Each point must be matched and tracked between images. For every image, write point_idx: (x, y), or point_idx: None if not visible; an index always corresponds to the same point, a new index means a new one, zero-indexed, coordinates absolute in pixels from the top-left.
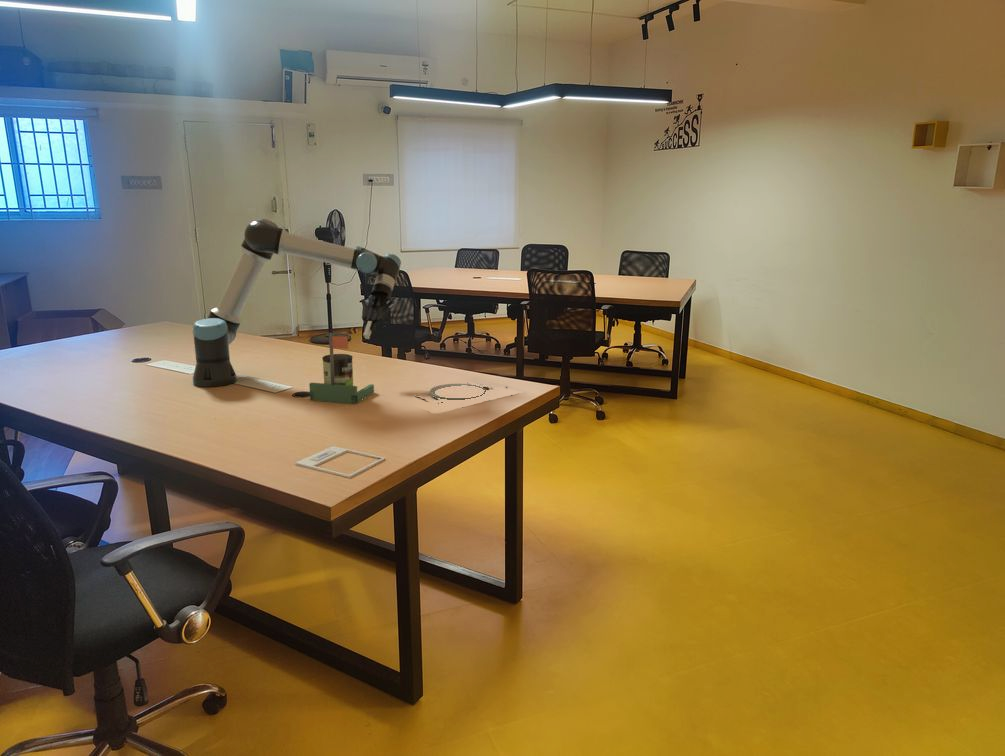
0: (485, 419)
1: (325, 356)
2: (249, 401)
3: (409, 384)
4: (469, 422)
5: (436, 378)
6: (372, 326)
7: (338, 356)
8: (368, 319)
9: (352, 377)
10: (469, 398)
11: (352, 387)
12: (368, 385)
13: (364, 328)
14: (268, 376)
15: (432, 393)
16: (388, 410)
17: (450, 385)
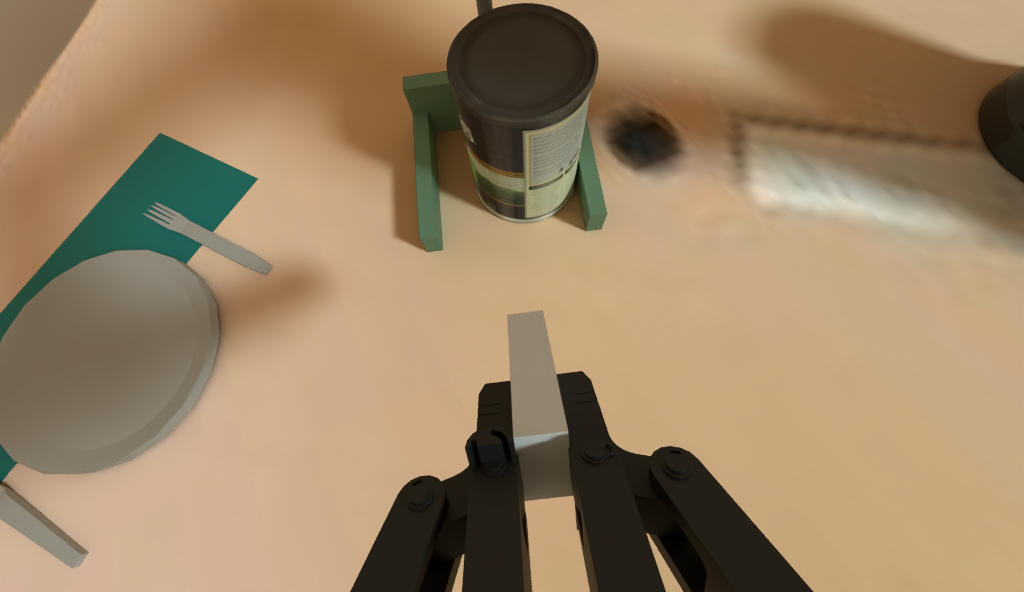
0: (15, 149)
1: (583, 44)
2: (730, 30)
3: (343, 418)
4: (59, 113)
5: (252, 588)
6: (491, 406)
7: (527, 73)
8: (576, 458)
9: (468, 151)
10: (53, 282)
11: (413, 76)
12: (432, 219)
13: (575, 374)
14: (985, 285)
15: (194, 284)
16: (301, 113)
17: (145, 433)
